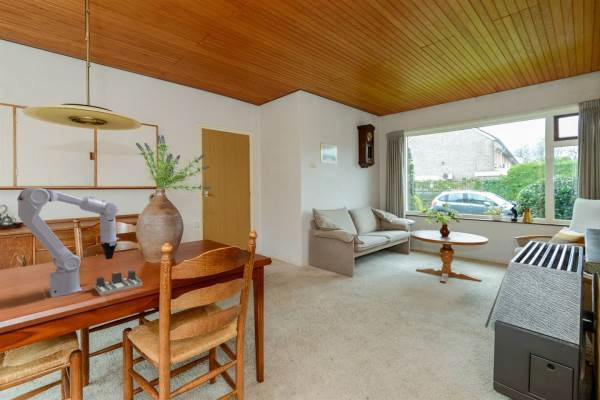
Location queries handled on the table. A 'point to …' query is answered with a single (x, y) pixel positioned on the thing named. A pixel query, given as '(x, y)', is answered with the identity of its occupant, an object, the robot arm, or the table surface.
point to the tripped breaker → (116, 277)
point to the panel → (117, 284)
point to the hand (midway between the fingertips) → (109, 258)
